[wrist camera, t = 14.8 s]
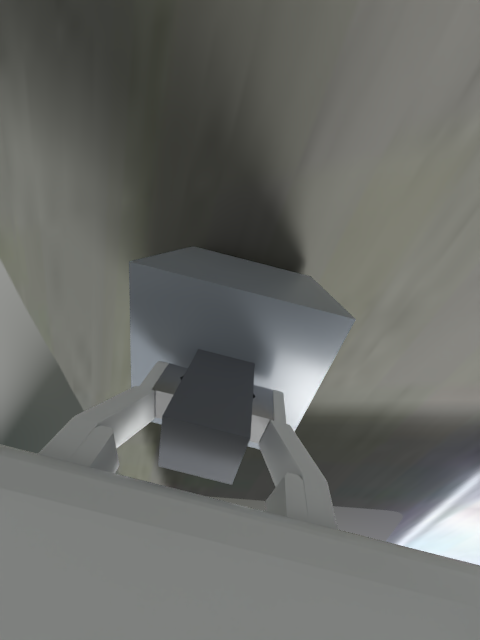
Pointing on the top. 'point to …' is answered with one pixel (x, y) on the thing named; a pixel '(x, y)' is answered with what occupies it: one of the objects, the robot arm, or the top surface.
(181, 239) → the top surface
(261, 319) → the grey box with knob
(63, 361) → the top surface
